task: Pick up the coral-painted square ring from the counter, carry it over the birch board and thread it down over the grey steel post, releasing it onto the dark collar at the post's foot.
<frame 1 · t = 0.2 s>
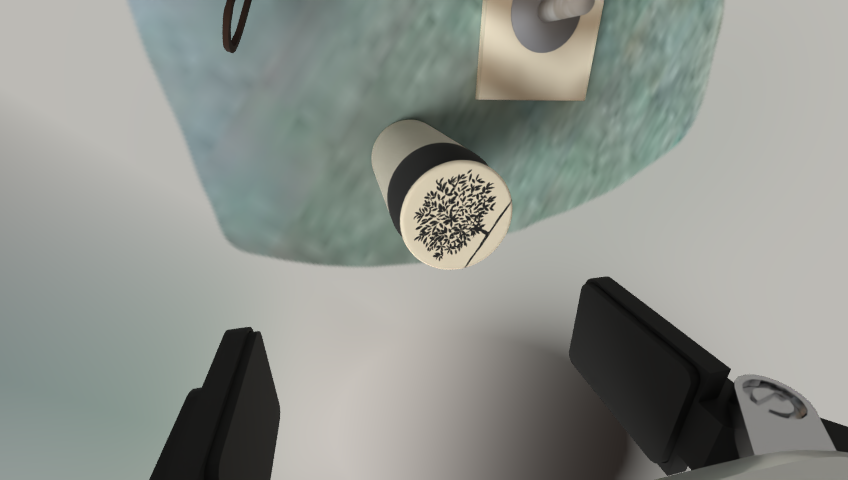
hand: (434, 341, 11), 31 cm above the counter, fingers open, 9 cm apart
post stand: (540, 12, 36), on the counter
travel mug: (408, 157, 40), on the counter
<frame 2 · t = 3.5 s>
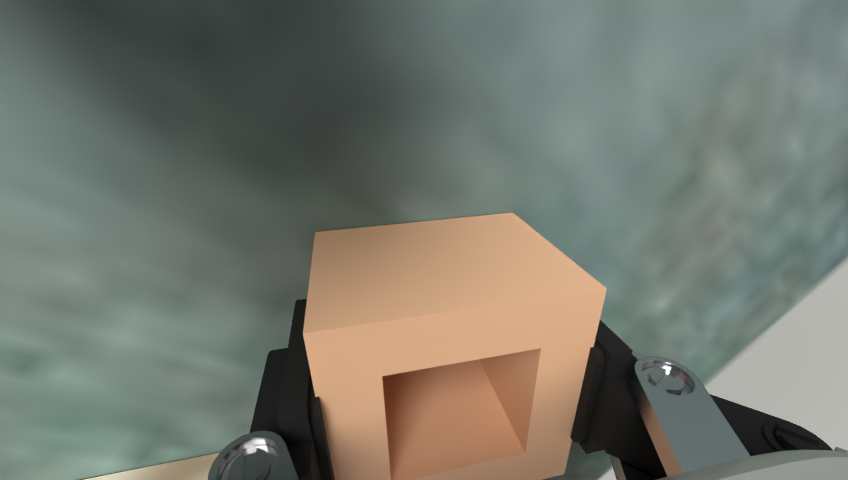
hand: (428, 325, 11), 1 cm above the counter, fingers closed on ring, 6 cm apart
ring: (421, 305, 12), on the counter, touching gripper
when the fingers open (4 cm above the counter, at t = 8.2 s): ring drops 2 cm, resting on post stand.
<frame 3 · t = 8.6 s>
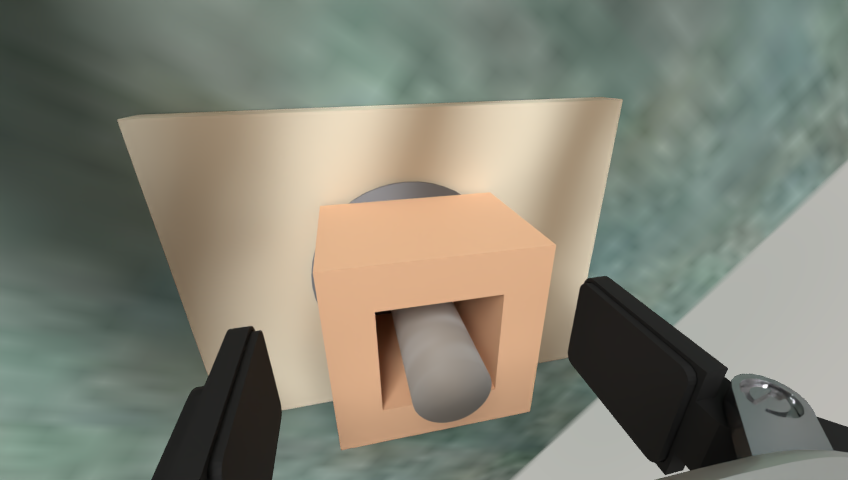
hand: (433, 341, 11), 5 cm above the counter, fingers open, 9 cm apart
post stand: (403, 257, 15), on the counter
ring: (411, 273, 14), point 1 cm above the counter, touching post stand
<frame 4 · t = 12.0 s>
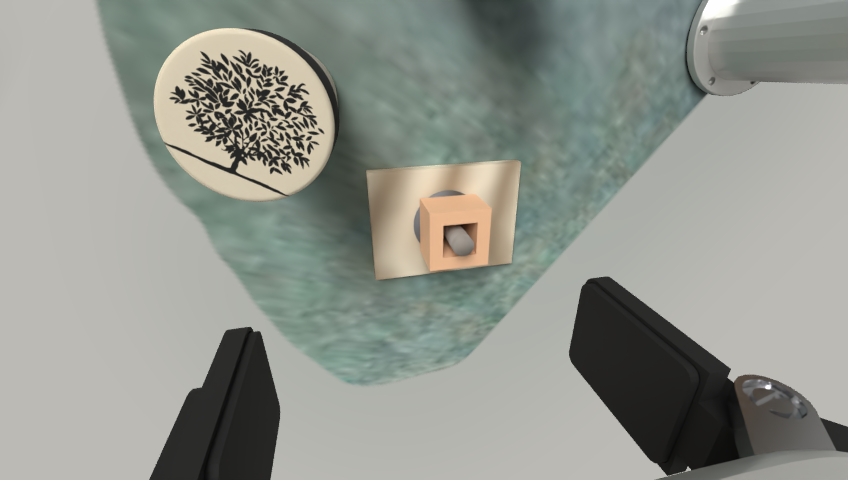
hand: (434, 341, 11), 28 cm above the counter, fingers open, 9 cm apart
post stand: (443, 218, 41), on the counter
ring: (447, 223, 39), point 1 cm above the counter, touching post stand
travel mug: (291, 96, 33), on the counter
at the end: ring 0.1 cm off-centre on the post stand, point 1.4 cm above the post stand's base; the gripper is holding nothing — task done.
